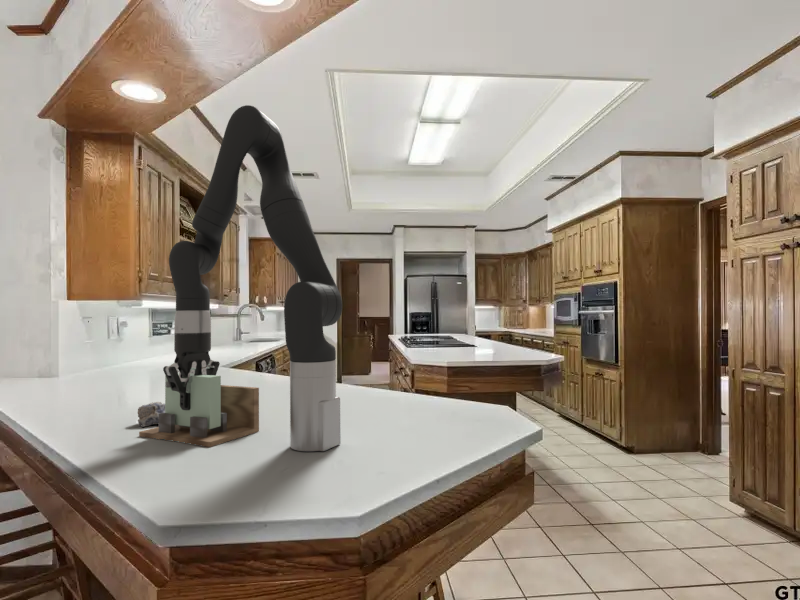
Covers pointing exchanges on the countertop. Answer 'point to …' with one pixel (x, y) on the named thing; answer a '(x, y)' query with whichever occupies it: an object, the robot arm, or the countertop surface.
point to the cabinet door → (197, 401)
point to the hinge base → (235, 420)
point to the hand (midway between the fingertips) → (192, 408)
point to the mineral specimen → (150, 413)
